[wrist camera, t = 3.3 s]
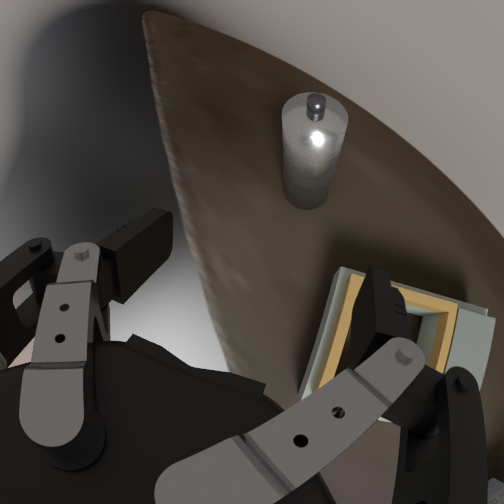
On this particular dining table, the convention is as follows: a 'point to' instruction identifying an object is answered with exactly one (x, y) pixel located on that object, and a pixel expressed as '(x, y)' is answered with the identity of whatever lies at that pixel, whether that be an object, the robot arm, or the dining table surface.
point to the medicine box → (495, 492)
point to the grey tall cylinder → (311, 147)
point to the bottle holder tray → (429, 339)
